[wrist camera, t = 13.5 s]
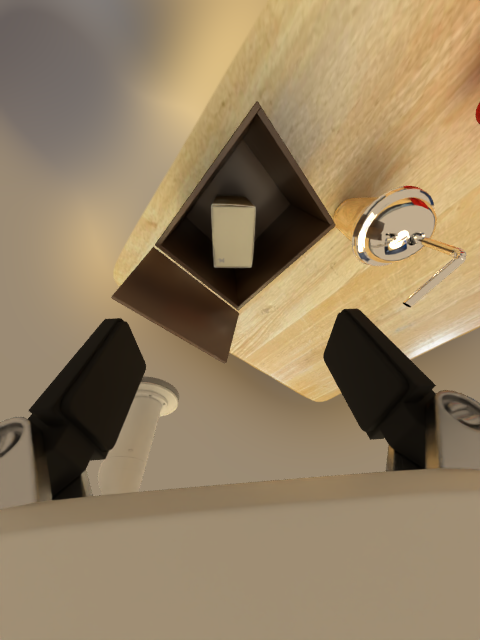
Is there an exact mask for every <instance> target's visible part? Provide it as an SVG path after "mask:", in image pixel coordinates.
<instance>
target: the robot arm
mask: <svg viewBox="0 0 480 640" xmlns="http://www.w3.org/2000/svg"><path fill="white" fill-rule="evenodd" d="M324 361H325V363H326V365H327V367H328V369H329V370H330V372H331V374H332V376H333V378H334V380H335V382H336V383H337V385H338V387H339V389H340V391H341V393H342V395H343V396H344V398H345V400H346V402H347V404H348V406H349V407H350V409H351V411H352V413H353V415H354V417H355V419H356V420H357V422H358V424H359V426H360V427H361V429H362V430H363V431H365V432H366V433H367V435H368V436H369V438H370V439H383V438H385V439H386V440H387V442H388V444H389V447H388V456H387V464H386V472H374V473H362V474H350V475H335V476H323V477H310V478H297V479H285V480H273V481H262V482H249V483H237V484H225V485H213V486H201V487H189V488H179V489H167V490H155V491H143V492H139V490H140V486H141V482H142V478H143V474H144V470H145V467H146V463H147V459H148V456H149V452H150V448H151V444H152V441H153V438H154V434H155V430H156V427H157V423H158V419H159V416H160V414H161V413H163V412H164V411H166V409H167V406H168V401H167V400H166V398H165V397H164V396H162V395H160V394H158V393H156V392H153V391H147V390H138V388H139V385H140V383H141V380H142V378H143V375H144V373H145V370H146V364H145V361H144V359H143V357H142V354H141V352H140V350H139V347H138V345H137V343H136V341H135V338H134V336H133V334H132V331H131V329H130V327H129V325H128V323H127V322H124V321H123V320H122V319H120V318H117V319H105V320H104V321H103V322H102V323H101V324H100V326H99V327H98V328H97V329H96V330H95V332H94V333H93V334H92V335H91V336H90V338H89V339H88V340H87V341H86V342H85V344H84V345H83V346H82V347H81V348H80V349H79V351H78V352H77V353H76V354H75V355H74V357H73V358H72V359H71V360H70V361H69V363H68V364H67V365H66V366H65V368H64V369H63V370H62V371H61V372H60V373H59V375H58V376H57V377H56V378H55V380H54V381H53V382H52V383H51V384H50V385H49V387H48V388H47V389H46V390H45V391H44V393H43V394H42V395H41V396H40V397H39V399H38V400H37V401H36V402H35V404H34V405H33V406H32V407H31V408H30V409H29V411H30V412H31V413H32V415H31V416H30V417H29V418H28V419H26V418H24V417H14V418H10V419H6V420H4V421H2V422H0V640H480V403H479V402H477V401H476V400H474V399H472V398H470V397H468V396H466V395H464V394H462V393H458V392H455V391H449V390H443V391H439V392H438V393H436V394H435V393H434V392H433V391H432V389H433V388H434V386H436V385H435V384H434V383H433V382H432V381H431V380H430V379H429V378H428V377H427V376H426V375H425V374H424V373H423V372H422V371H421V370H420V369H419V368H418V367H417V366H416V365H415V364H414V363H413V362H412V361H411V360H410V359H409V358H408V357H407V356H406V355H405V354H404V353H403V352H402V351H401V350H400V349H399V348H398V347H397V346H396V345H395V344H394V343H392V342H391V341H390V340H389V339H388V338H387V337H386V336H385V335H384V334H383V333H382V332H381V331H380V330H379V329H378V328H377V327H376V326H375V325H374V324H373V323H372V322H371V321H370V320H369V319H368V318H367V317H366V316H365V315H364V314H363V313H362V312H361V311H360V310H359V309H344V310H342V312H341V313H339V314H338V315H337V318H336V321H335V324H334V327H333V329H332V332H331V335H330V338H329V341H328V343H327V346H326V349H325V352H324ZM101 459H103V461H102V464H101V466H100V469H99V473H98V483H99V487H100V490H101V493H102V495H99V496H93V494H92V490H91V486H90V483H89V479H88V476H87V471H86V467H87V465H88V463H89V461H90V460H101Z"/></svg>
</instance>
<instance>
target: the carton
mask: <svg viewBox="0 0 480 640" xmlns="http://www.w3.org/2000/svg"><path fill="white" fill-rule="evenodd" d="M216 195H234V196H245V197H246V198H247V199H248V200H249V201H250V202H251V203H252V204H253V205H254V206H255V207H256V213H255V236H254V251H253V260H252V266H251V267H250V268H220V267H219V268H217V267H214V259H213V241H212V220H211V205H212V203H213V201H214V199H215V197H216ZM335 226H336V224H335V222H334V221H333V219H332V218H331V216H330V215H329V213H328V211H327V210H326V208H325V207H324V205H323V204H322V202H321V200H320V199H319V197H318V196H317V194H316V193H315V191H314V189H313V188H312V186H311V185H310V183H309V182H308V180H307V178H306V177H305V175H304V174H303V172H302V171H301V169H300V167H299V166H298V164H297V163H296V161H295V160H294V158H293V156H292V155H291V153H290V152H289V150H288V149H287V147H286V145H285V144H284V142H283V141H282V139H281V138H280V136H279V134H278V133H277V131H276V130H275V128H274V127H273V125H272V123H271V122H270V120H269V119H268V117H267V116H266V114H265V112H264V111H263V109H262V108H261V106H260V105H259V103H258V102H256V103H255V105H254V106H253V107H252V109H251V110H250V112H249V113H248V114H247V116H246V117H245V119H244V120H243V121H242V123H241V124H240V126H239V127H238V128H237V130H236V131H235V133H234V134H233V136H232V137H231V138H230V140H229V141H228V143H227V144H226V145H225V147H224V148H223V150H222V151H221V152H220V154H219V155H218V157H217V158H216V159H215V161H214V162H213V164H212V165H211V167H210V168H209V169H208V171H207V172H206V174H205V175H204V176H203V178H202V179H201V181H200V182H199V183H198V185H197V186H196V188H195V189H194V190H193V192H192V193H191V195H190V196H189V197H188V199H187V200H186V202H185V203H184V205H183V206H182V207H181V209H180V210H179V212H178V213H177V214H176V216H175V217H174V219H173V220H172V221H171V223H170V224H169V226H168V227H167V228H166V230H165V231H164V233H163V234H162V236H161V237H160V238H159V240H158V241H157V243H156V244H155V246H157V247H158V248H159V249H160V250H162V251H163V252H164V253H166V254H167V255H168V256H169V257H171V258H172V259H173V260H174V261H176V262H177V263H178V264H180V265H181V266H182V267H183V268H185V269H186V270H187V271H189V272H190V273H191V274H192V275H194V276H195V277H196V278H198V279H199V280H200V281H201V282H203V283H204V284H205V285H206V286H208V287H209V288H210V289H212V290H213V291H214V292H215V293H217V294H218V295H219V296H221V297H222V298H223V299H224V300H226V301H227V302H228V303H230V304H231V305H232V306H233V307H235V308H236V309H237V310H239V309H240V308H242V307H243V306H244V305H245V304H246V303H247V302H248V301H250V300H251V299H252V298H253V297H254V296H255V295H257V294H258V293H259V292H260V291H261V290H262V289H263V288H265V287H266V286H267V285H268V284H269V283H270V282H272V281H273V280H274V279H275V278H276V277H277V276H278V275H280V274H281V273H282V272H283V271H284V270H285V269H286V268H288V267H289V266H290V265H291V264H292V263H293V262H295V261H296V260H297V259H298V258H299V257H300V256H301V255H303V254H304V253H305V252H306V251H307V250H308V249H310V248H311V247H312V246H313V245H314V244H315V243H316V242H318V241H319V240H320V239H321V238H322V237H323V236H325V235H326V234H327V233H328V232H329V231H330V230H331V229H333V228H334V227H335Z"/></svg>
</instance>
